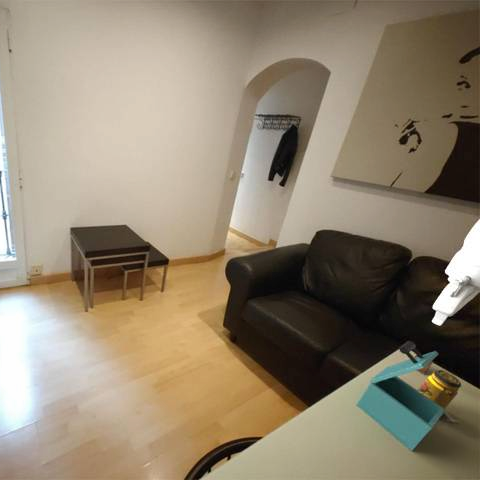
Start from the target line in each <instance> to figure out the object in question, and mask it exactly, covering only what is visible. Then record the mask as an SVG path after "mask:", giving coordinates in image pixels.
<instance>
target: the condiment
mask: <svg viewBox="0 0 480 480" xmlns="http://www.w3.org/2000/svg"><path fill="white" fill-rule="evenodd" d="M461 387H462V383H461V381H460V380H459V379H458V378H457V377H456V376H455V375H453V374H451V373H450V372H448V371H445V370H444V369H443V370H442V369H435V370H434V372H433V373H432V374H430V375H429V376H427V378H425V381H424V382H423V383H422V384H421V385H420V387H419V388H418V390H417V391H419V392H420V393H422V394H423V395H425V396H426V397H428V398H429V399H431V400H432V401H434V402H435V403H436V404H438V405H439V406H441V407H442V408H444V409H445V411H444V413H443V414H442V415H441V417H440V418H439V419H438V420H441V421H446V422H452V423H455V424H456V423H457V422H456V421H455V420H454V419H453V418H452V417H451V416H450V415H449V414H448V413H447V412H446V408H447V407H448V406H449V405H450V403H451V402H452V401H453V400H454V399H455V398H456V397H457V395H458V391H459V390H460V388H461Z"/></svg>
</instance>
